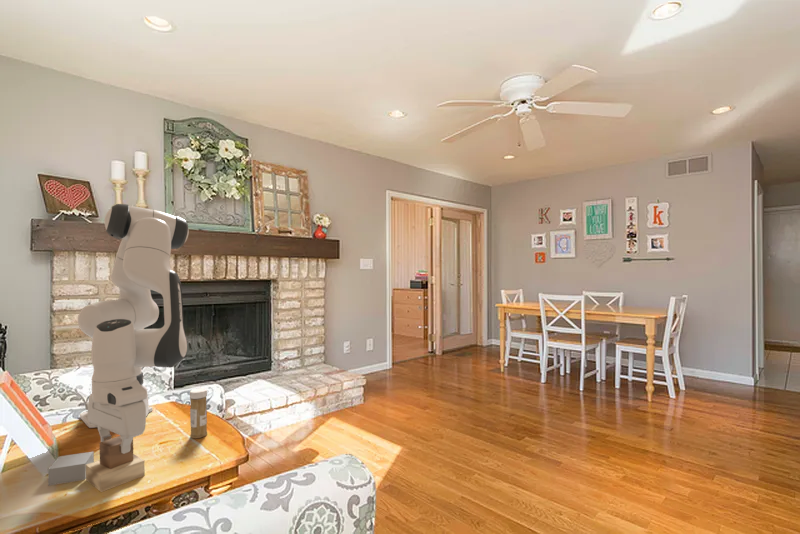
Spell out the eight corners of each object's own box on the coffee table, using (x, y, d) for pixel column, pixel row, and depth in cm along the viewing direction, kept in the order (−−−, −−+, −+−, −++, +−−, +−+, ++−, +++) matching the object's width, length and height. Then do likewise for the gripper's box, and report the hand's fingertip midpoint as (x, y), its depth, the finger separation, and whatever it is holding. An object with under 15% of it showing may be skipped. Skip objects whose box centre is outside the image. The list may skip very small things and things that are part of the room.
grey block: (59, 472, 104) (59, 456, 104) (93, 467, 107) (93, 451, 107) (48, 486, 98) (48, 469, 98) (85, 480, 100) (85, 463, 100)
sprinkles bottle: (208, 436, 125) (208, 390, 125) (191, 440, 122) (190, 393, 122) (205, 431, 129) (205, 386, 129) (189, 434, 126) (188, 389, 126)
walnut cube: (99, 463, 101) (99, 442, 100) (122, 455, 105) (122, 435, 105) (110, 469, 98) (109, 447, 98) (133, 460, 102) (133, 439, 102)
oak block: (85, 481, 100) (85, 464, 100) (128, 466, 108) (128, 450, 107) (101, 493, 95) (100, 476, 95) (144, 477, 102) (144, 460, 102)
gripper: (79, 385, 104) (80, 442, 104) (121, 400, 93) (122, 463, 93) (108, 379, 109) (108, 433, 109) (151, 392, 98) (151, 452, 98)
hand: (115, 447), depth 101 cm, fingers open, 8 cm apart
